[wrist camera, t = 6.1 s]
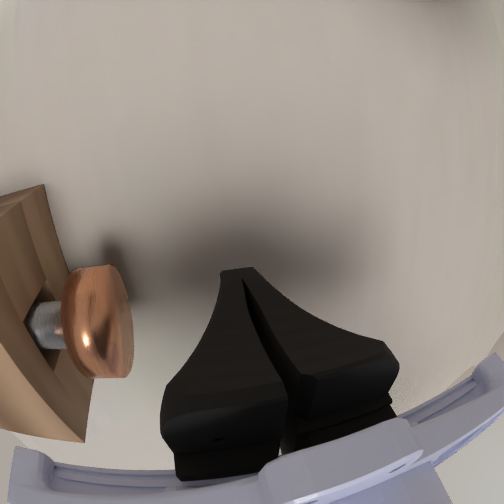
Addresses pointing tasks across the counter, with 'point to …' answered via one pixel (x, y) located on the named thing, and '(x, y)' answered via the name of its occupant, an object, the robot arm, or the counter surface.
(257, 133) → the counter surface
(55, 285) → the bearing block
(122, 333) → the copper capped shaft
